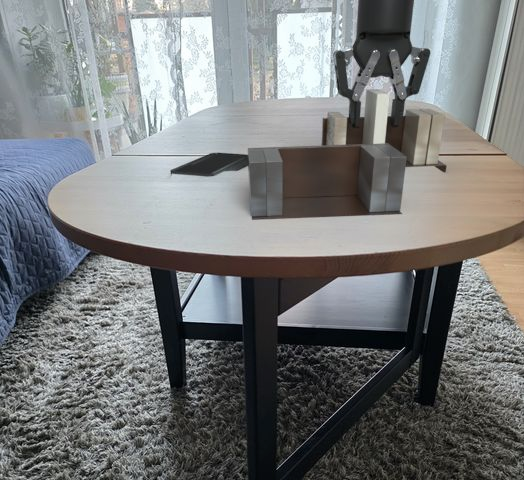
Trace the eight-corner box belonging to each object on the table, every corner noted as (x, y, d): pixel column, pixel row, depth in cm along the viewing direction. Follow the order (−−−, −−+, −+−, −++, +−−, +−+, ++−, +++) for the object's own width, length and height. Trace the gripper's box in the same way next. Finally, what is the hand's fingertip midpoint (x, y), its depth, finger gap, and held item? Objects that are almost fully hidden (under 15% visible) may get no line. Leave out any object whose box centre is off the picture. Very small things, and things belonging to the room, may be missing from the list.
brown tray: (426, 159, 85) (434, 107, 81) (445, 172, 78) (455, 115, 74) (320, 163, 85) (322, 111, 81) (329, 176, 77) (332, 119, 73)
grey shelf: (382, 200, 66) (388, 143, 62) (401, 222, 58) (409, 158, 54) (249, 205, 65) (247, 148, 61) (251, 228, 57) (249, 164, 54)
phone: (253, 154, 86) (212, 174, 74) (253, 161, 87) (213, 182, 75) (212, 152, 89) (166, 170, 77) (213, 159, 89) (167, 178, 78)
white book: (371, 156, 84) (377, 89, 78) (382, 166, 78) (389, 93, 72) (361, 157, 84) (366, 89, 78) (371, 166, 78) (377, 94, 72)
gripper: (339, -8, 66) (332, 132, 75) (448, -11, 66) (428, 129, 75) (330, -4, 72) (324, 124, 81) (429, -7, 73) (413, 122, 81)
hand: (375, 126), depth 78 cm, fingers open, 5 cm apart
